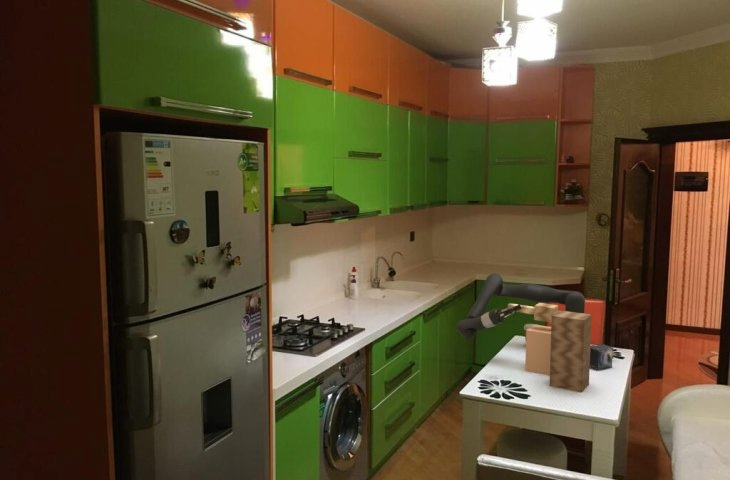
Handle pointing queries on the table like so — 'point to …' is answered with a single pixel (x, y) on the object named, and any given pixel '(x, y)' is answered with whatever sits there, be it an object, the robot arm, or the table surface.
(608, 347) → the small box
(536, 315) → the mallet
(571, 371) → the walnut block
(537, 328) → the pedestal
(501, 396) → the table surface
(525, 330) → the disposable coffee cup
